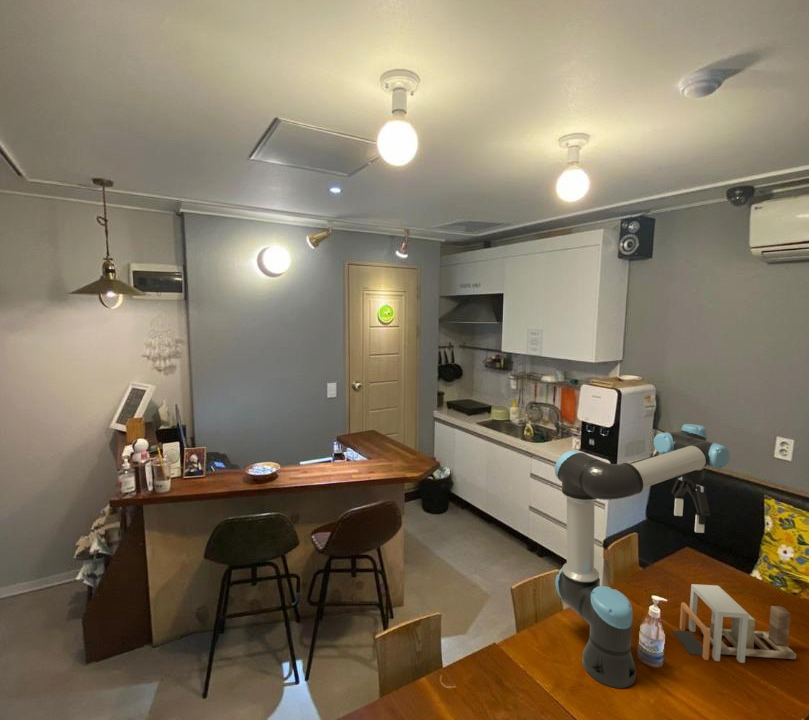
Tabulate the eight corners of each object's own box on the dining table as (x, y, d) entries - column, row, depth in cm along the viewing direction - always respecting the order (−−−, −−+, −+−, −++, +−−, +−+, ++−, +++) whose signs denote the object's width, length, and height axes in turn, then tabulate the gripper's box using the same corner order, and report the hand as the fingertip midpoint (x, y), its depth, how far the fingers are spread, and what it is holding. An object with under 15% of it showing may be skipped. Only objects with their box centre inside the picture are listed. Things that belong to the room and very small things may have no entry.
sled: (720, 654, 141) (722, 615, 140) (701, 631, 152) (703, 595, 151) (795, 659, 139) (799, 620, 138) (771, 636, 150) (774, 600, 149)
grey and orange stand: (704, 660, 140) (708, 611, 138) (679, 627, 154) (682, 583, 153) (744, 662, 139) (748, 613, 137) (715, 630, 153) (718, 585, 152)
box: (753, 652, 143) (756, 620, 142) (739, 651, 143) (742, 619, 143) (742, 640, 148) (745, 610, 147) (729, 640, 149) (731, 609, 148)
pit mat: (690, 654, 142) (690, 653, 142) (672, 631, 153) (672, 630, 153) (709, 656, 141) (709, 655, 141) (690, 632, 152) (690, 631, 152)
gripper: (725, 479, 145) (720, 540, 147) (683, 457, 170) (680, 509, 172) (701, 478, 146) (697, 539, 148) (663, 456, 171) (660, 508, 172)
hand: (688, 523), depth 160 cm, fingers open, 13 cm apart
